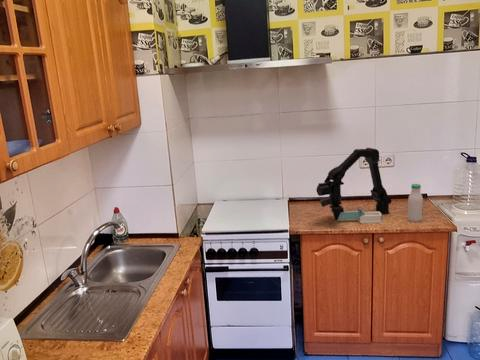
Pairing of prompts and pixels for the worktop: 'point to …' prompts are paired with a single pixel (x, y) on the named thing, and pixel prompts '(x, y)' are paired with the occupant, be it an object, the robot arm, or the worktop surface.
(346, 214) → the teal square rod
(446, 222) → the worktop surface
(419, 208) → the milk bottle
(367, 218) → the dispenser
